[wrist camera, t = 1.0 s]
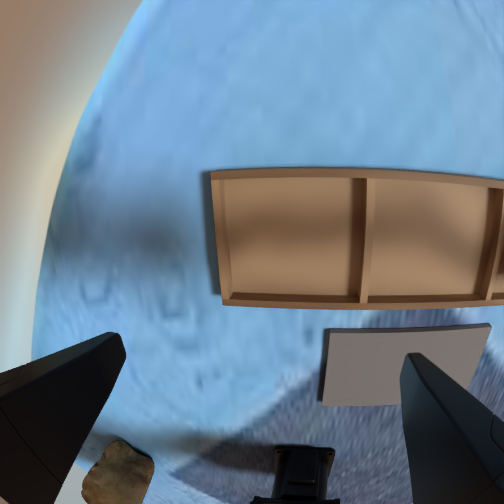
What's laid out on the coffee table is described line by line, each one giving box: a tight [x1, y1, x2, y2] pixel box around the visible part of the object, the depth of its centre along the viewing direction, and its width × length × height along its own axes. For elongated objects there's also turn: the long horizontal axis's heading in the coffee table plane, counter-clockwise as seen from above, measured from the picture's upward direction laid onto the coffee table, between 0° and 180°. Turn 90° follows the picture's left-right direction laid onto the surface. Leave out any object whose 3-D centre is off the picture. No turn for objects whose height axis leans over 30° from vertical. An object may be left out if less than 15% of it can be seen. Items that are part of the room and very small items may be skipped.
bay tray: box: [210, 167, 504, 310], centre depth 17 cm, size 9×29×2 cm, turn 93°
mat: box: [322, 323, 492, 406], centre depth 21 cm, size 8×14×1 cm, turn 93°
